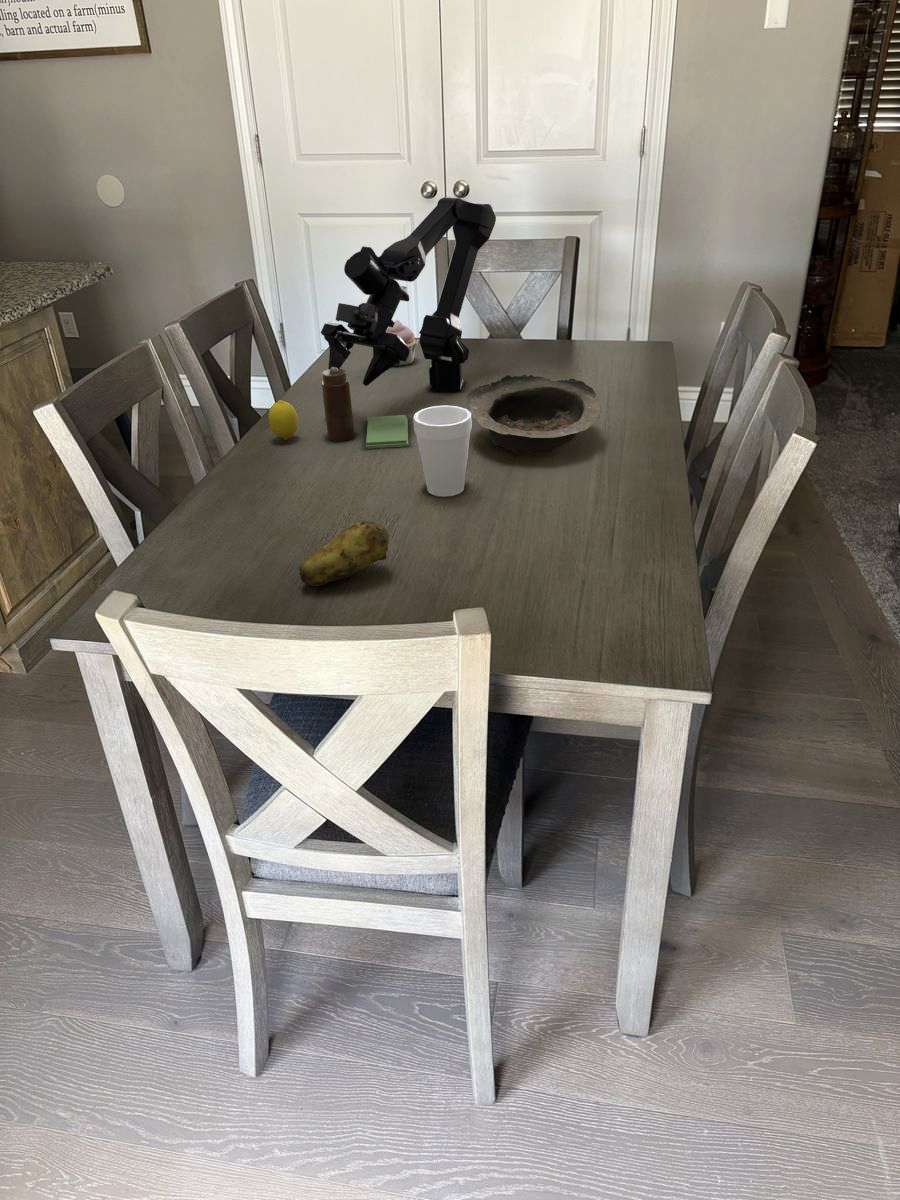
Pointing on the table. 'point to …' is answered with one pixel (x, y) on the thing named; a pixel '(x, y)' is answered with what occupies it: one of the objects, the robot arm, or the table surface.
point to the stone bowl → (534, 412)
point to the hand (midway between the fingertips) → (346, 380)
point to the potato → (346, 553)
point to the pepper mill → (337, 405)
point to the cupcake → (404, 339)
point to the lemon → (283, 419)
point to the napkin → (387, 432)
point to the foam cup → (443, 447)
